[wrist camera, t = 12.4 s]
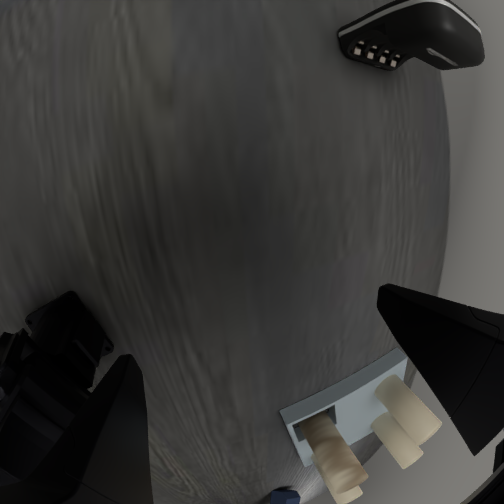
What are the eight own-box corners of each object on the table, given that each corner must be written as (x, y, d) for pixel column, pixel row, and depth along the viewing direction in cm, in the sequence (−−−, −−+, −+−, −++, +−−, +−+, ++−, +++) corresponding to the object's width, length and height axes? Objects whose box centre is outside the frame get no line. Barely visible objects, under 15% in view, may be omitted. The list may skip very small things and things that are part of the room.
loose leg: (297, 423, 33) (338, 495, 21) (290, 412, 31) (335, 491, 20) (323, 410, 34) (368, 479, 22) (318, 397, 32) (368, 472, 20)
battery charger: (337, 64, 18) (445, 32, 8) (334, 27, 17) (432, -17, 7) (396, 80, 20) (496, 72, 10) (392, 47, 19) (487, 29, 9)
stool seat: (299, 456, 38) (329, 512, 26) (279, 410, 30) (322, 494, 19) (387, 409, 41) (425, 455, 29) (396, 347, 33) (457, 404, 22)
